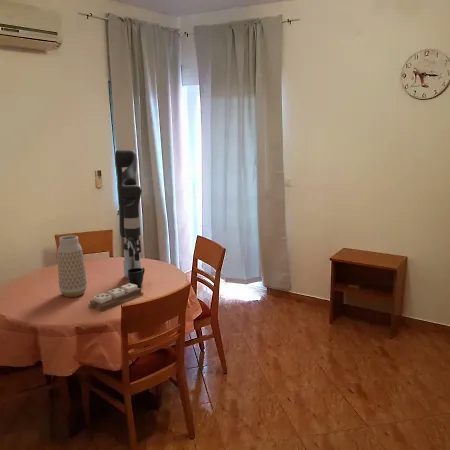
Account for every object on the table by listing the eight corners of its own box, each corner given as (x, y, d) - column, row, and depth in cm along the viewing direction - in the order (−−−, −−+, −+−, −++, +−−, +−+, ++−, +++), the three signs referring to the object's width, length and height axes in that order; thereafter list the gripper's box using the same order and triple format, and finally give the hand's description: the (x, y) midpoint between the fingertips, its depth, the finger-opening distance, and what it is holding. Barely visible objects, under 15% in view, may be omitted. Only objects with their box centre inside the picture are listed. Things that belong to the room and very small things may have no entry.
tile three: (93, 301, 205) (93, 296, 205) (103, 297, 210) (103, 292, 209) (101, 304, 202) (101, 298, 201) (111, 300, 207) (111, 295, 206)
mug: (150, 283, 237) (149, 266, 236) (138, 290, 227) (137, 273, 225) (138, 281, 241) (137, 265, 239) (125, 288, 230) (124, 271, 228)
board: (88, 306, 206) (88, 300, 205) (129, 290, 227) (128, 285, 226) (102, 311, 200) (102, 305, 199) (143, 294, 220) (143, 289, 220)
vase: (61, 300, 214) (55, 242, 207) (58, 292, 226) (52, 236, 219) (89, 295, 220) (84, 238, 213) (85, 287, 232) (80, 233, 225)
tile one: (121, 291, 219) (120, 286, 218) (129, 287, 223) (129, 282, 223) (129, 293, 215) (128, 288, 215) (137, 289, 220) (137, 285, 219)
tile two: (107, 296, 212) (107, 291, 211) (117, 292, 217) (116, 287, 216) (115, 298, 209) (115, 293, 208) (125, 294, 213) (124, 289, 213)
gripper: (120, 224, 208) (122, 256, 212) (129, 229, 196) (131, 263, 200) (134, 223, 212) (136, 254, 215) (144, 227, 200) (146, 260, 203)
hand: (134, 258), depth 208 cm, fingers open, 8 cm apart
